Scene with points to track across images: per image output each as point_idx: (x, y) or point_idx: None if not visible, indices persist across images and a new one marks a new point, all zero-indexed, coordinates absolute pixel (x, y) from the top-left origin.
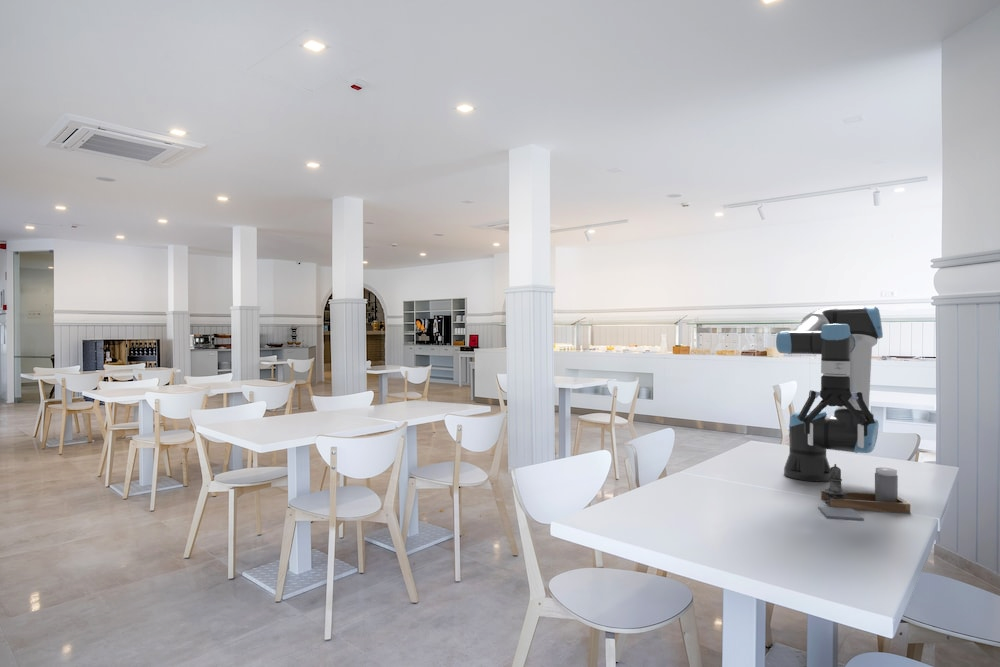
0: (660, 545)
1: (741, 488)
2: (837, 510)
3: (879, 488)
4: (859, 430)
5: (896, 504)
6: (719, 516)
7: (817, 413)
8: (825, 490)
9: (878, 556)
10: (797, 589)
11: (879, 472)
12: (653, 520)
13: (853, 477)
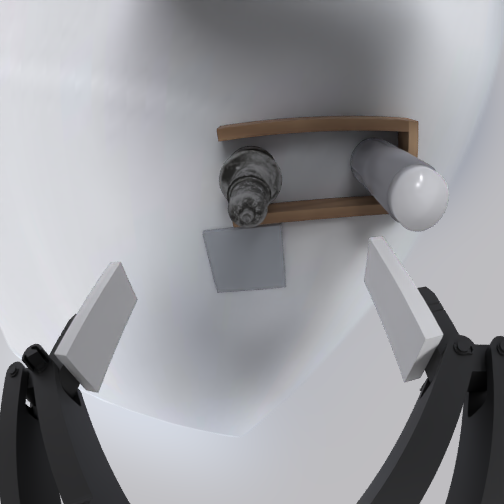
0: None
1: (45, 125)
2: (243, 251)
3: (373, 195)
4: (400, 334)
5: (385, 213)
6: None
7: (99, 458)
8: (222, 179)
9: (260, 389)
10: (189, 426)
11: (394, 215)
12: (42, 340)
13: None
